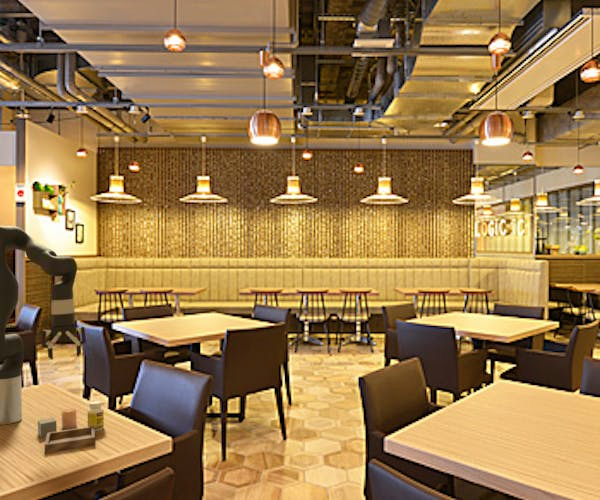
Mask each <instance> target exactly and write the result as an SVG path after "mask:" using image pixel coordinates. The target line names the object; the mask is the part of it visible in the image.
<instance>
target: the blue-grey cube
mask: <svg viewBox="0 0 600 500" xmlns="http://www.w3.org/2000/svg"><path fill="white" fill-rule="evenodd" d="M56 431H58V430H57V420H56V418H54V417H48V418H44V419H43V418H42V419H39V420H37V435H38V436H39V437H40V439H43V438H46V436H47V433H49V432H56Z"/></svg>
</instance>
